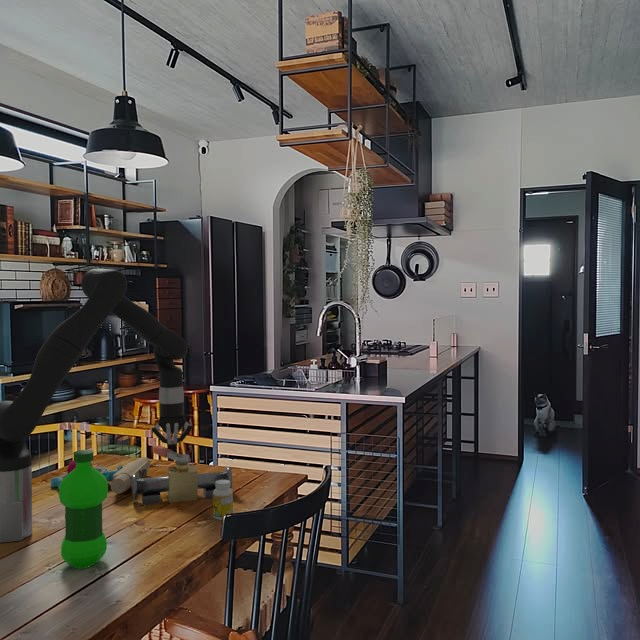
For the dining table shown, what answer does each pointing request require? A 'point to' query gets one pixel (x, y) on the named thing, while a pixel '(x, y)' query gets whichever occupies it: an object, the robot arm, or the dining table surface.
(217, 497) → the supplement bottle
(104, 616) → the dining table surface
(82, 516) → the plastic bottle
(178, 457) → the valve lever
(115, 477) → the butterfly valve
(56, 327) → the robot arm
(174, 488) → the pipe valve
